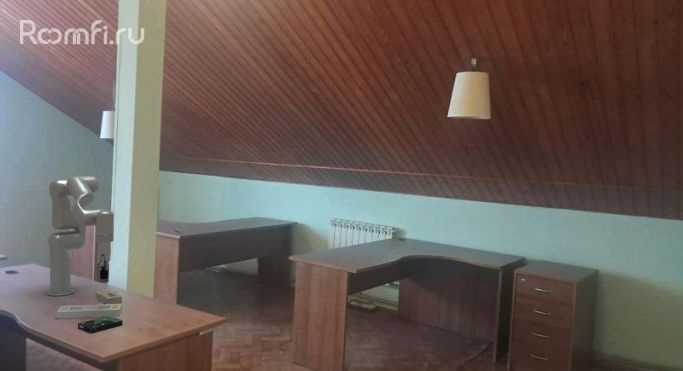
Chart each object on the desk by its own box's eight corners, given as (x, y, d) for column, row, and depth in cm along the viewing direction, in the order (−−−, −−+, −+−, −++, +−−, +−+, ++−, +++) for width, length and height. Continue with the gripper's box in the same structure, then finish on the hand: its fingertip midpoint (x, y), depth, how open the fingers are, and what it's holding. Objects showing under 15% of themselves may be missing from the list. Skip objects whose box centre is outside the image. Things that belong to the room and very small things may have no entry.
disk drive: (91, 335, 235) (123, 326, 247) (91, 328, 235) (123, 319, 247) (77, 329, 241) (109, 321, 253) (77, 323, 241) (109, 315, 253)
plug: (100, 280, 263) (100, 263, 262) (109, 280, 263) (109, 263, 263) (99, 282, 259) (99, 265, 258) (108, 282, 260) (108, 265, 259)
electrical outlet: (110, 288, 293) (122, 296, 279) (110, 296, 293) (122, 304, 280) (95, 290, 288) (106, 298, 275) (95, 298, 289) (106, 306, 275)
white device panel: (61, 312, 262) (61, 305, 262) (121, 309, 269) (121, 303, 269) (56, 318, 252) (56, 311, 252) (119, 316, 259) (119, 309, 259)
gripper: (98, 235, 267) (98, 274, 268) (92, 241, 251) (92, 282, 252) (115, 235, 269) (115, 273, 270) (111, 240, 253) (111, 281, 254)
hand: (104, 277), depth 261 cm, fingers closed on plug, 3 cm apart
